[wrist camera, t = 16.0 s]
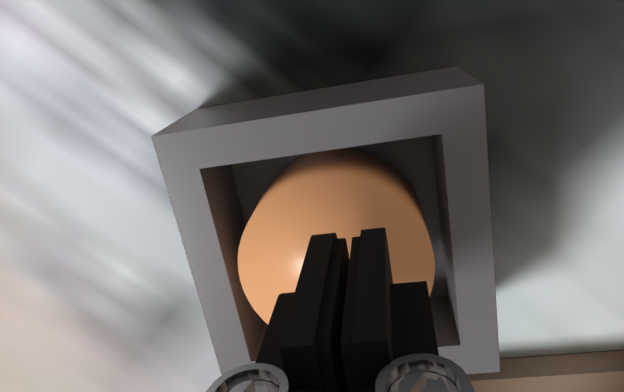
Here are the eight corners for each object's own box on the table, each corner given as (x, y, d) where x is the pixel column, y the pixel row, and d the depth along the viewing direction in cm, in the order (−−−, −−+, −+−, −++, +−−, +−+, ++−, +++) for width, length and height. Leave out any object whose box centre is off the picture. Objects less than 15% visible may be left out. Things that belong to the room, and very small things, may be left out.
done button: (415, 136, 14) (424, 163, 11) (431, 292, 15) (443, 343, 13) (241, 161, 14) (217, 191, 12) (275, 307, 16) (260, 358, 14)
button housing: (457, 65, 14) (484, 83, 11) (474, 301, 17) (499, 372, 14) (196, 108, 16) (151, 136, 12) (251, 321, 18) (226, 390, 15)
